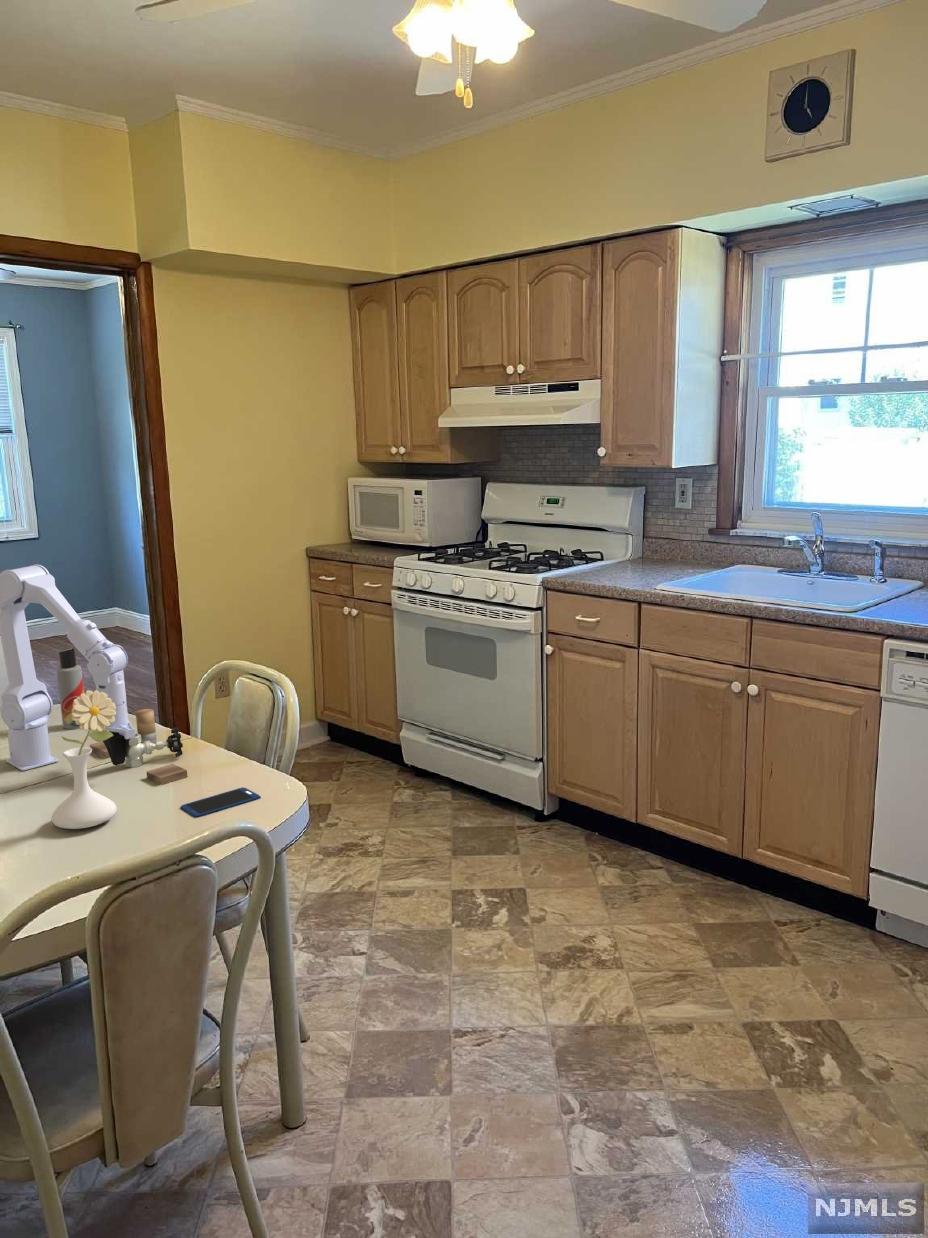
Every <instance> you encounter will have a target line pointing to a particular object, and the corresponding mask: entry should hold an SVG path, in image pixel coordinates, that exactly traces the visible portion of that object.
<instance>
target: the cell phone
mask: <svg viewBox="0 0 928 1238" xmlns="http://www.w3.org/2000/svg"><path fill="white" fill-rule="evenodd" d="M260 799H261V795H259V794H258V793H256V792H254V791H252V790H250V789H248V788H247V787H244V786H243V787H239V788H235V789H232V790H229V791H225V792H222V793H218V794H215V795H211V796H208V797H204V798H200V799H197V800H194V801H191V802H188V803H184V804H182V805H181V806H180V810H182V811H184V812H185V813H187V814H188V815H189V816H192V817H193V818H196V819H197V818H201V817H205V816H208V815H211V814H215V813H219V812H222V811H225V810H228V809H231V808H235V807H237V806H241V805H242V806H243V805H245V804H248V803H251V802H254V801H257V800H260Z"/></svg>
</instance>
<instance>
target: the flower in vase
mask: <svg viewBox="0 0 928 1238" xmlns="http://www.w3.org/2000/svg"><path fill="white" fill-rule="evenodd" d="M73 702H74V703H73V709H72V720H74V721H76V722H75V723H76V724H77V725H80V728H79V729H80V730H83V731H87V733H86V736H85V737H84V739H83V742H81V741H80V740H78V739H71V738H70V739H69V738H67V737H65V736H61V739H62V740H63V741H66V742H70V743H74V744H75V743H76V744H80V745H81V746H80V747H73V748H70V749H67V750H65V751H64V752H63V753H62V756H63V757H64V758H65V759H66V760H67V761H68V762H69V766H70V767H71V770H72V775H73V782H74V783H73V784H74V785H73V791H72V792H71V794H70V795H69V796H68V797H66V799H64V800H63V801H62V802H61V804H59V805H58V806H56V808H55V810H54V811H52V814H51V823H52V824H53V825H54V826H56V827H58V828H61V829H65V830H67V829H69V830H81V829H88V828H91V827H95V826H98V825H101V824H103V823H105V822H107V821H109V820H110V819H112V818H113V817H115V815H116V813H117V811H118V807H117V805H116V803H115V802H114V801H113V800H112V799H110V798H108V797H106V796H104V795H103V794H100V793H98V792H96V791H94V789H92V788H91V787H90V785H89V782H88V773H87V766H88V760H89V758H90V755H91V753H93V752H92V749H91V748H90V747H84V746H85V744H86V742H87V740H88V739H89V736H90V738H91V739H93V740H94V741H96V743H98V742H102V741H104V740H106V739H108V738H110V737H112V736H113V734H112V733H111V732H109V731H108V730H106V729H105V726H106V727H108V726H110V725H111V723H113V722H114V721H115V719H114V718H115V717H114V716H115V715H116V712H115V709H116V706H115V703H113V702H112V700H111V699H110V698H107V694H105V693H104V692H100V693H99V692H98V691H96V690H94V691H92V690H90V689H87V690H86V691H85V692H84V693H83V694H81V695H80V698H79V697H78V698H76V699H75V700H74V701H73Z"/></svg>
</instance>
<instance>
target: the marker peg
mask: <svg viewBox="0 0 928 1238" xmlns="http://www.w3.org/2000/svg"><path fill="white" fill-rule="evenodd" d="M154 711H155V710H154V709H152V708H144V709H139V710H137V711H135V719H136V720H135V721H136V722H135V723H136V729H137V734H140V735H141V742H140V743H144V742H145V741H150V743H153V744H155V743H156V742H158V741H157V731H156V721H155V712H154Z"/></svg>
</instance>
